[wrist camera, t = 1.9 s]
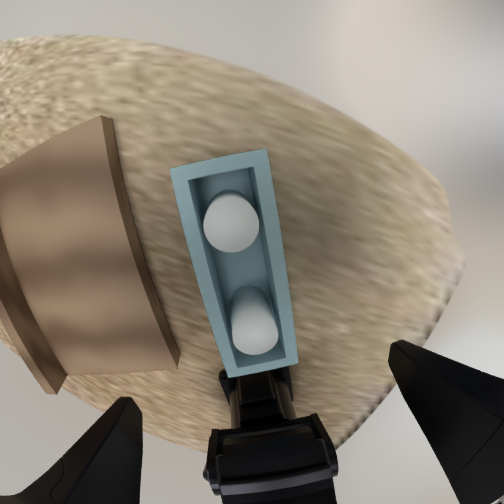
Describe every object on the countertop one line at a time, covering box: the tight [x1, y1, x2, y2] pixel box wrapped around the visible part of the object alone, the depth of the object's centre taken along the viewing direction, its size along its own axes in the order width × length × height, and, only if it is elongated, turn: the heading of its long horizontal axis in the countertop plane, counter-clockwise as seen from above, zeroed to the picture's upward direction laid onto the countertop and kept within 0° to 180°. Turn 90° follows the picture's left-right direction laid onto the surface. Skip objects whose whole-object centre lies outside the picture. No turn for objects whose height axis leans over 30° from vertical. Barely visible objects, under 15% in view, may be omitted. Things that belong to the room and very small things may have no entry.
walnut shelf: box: [0, 115, 180, 395], centre depth 16 cm, size 20×14×5 cm
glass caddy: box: [170, 149, 299, 378], centre depth 17 cm, size 14×5×6 cm, turn 10°
